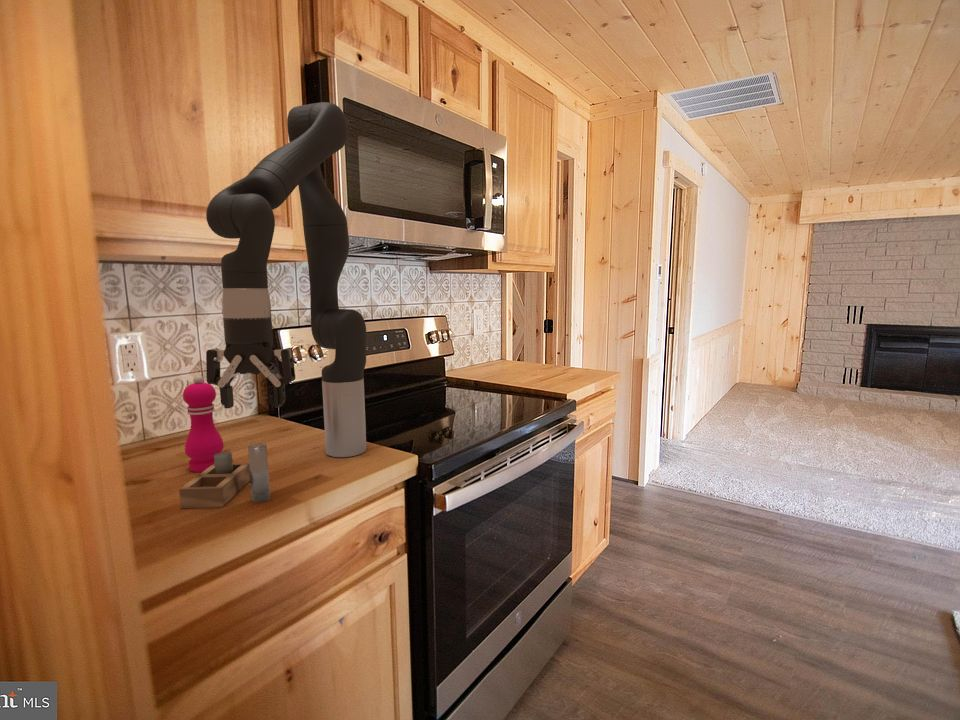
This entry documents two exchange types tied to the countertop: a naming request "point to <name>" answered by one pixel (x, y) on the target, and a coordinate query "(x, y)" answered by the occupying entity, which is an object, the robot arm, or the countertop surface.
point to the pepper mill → (201, 425)
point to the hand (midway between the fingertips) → (253, 407)
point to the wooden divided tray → (215, 483)
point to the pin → (259, 472)
